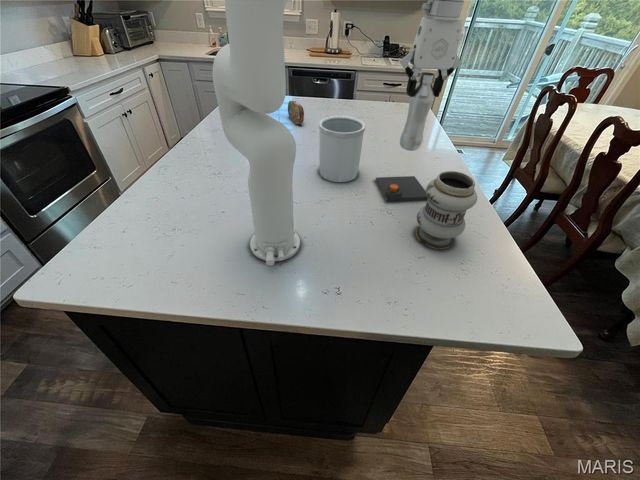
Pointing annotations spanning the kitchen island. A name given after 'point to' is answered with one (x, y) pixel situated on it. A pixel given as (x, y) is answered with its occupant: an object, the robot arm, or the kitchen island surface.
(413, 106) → the plastic bottle
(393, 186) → the tare button
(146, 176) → the kitchen island surface
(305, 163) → the kitchen island surface
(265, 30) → the robot arm
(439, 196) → the apothecary jar
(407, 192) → the scale
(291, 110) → the mottled brown slab
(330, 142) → the utensil holder
